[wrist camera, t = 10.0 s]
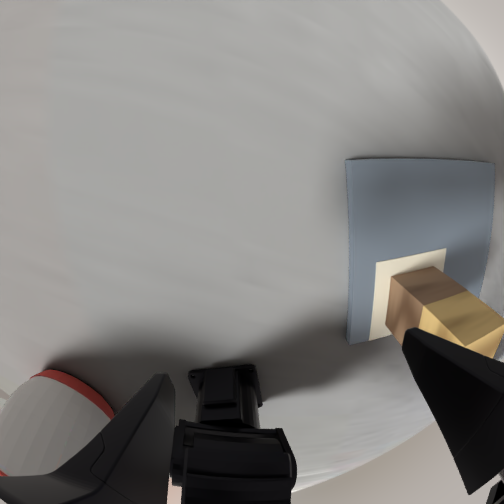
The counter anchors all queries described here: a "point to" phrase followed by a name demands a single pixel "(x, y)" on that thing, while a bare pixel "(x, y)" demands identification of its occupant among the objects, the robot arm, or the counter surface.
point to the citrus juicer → (48, 423)
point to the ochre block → (464, 323)
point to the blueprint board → (413, 229)
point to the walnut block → (416, 297)
